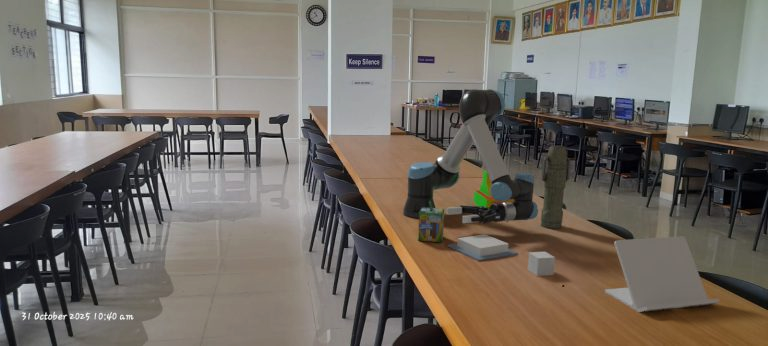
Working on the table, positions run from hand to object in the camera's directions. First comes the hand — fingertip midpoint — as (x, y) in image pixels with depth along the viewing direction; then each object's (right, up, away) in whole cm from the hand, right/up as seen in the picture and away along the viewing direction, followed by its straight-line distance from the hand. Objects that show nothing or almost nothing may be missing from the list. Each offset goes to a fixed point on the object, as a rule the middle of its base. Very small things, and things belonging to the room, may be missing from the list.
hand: (454, 215), depth 215 cm
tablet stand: (+53, -21, -55) cm, 79 cm away
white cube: (+24, -16, -35) cm, 45 cm away
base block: (+8, -12, -14) cm, 20 cm away
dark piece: (+45, -7, +22) cm, 50 cm away
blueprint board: (+8, -12, -14) cm, 20 cm away
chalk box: (-9, -9, -2) cm, 13 cm away
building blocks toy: (+29, -1, +53) cm, 60 cm away
